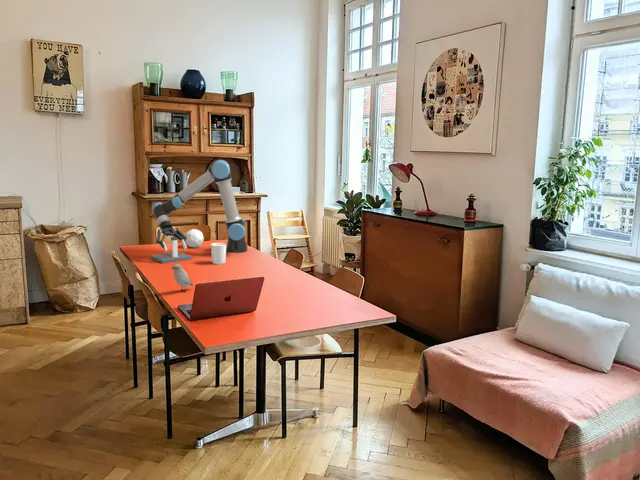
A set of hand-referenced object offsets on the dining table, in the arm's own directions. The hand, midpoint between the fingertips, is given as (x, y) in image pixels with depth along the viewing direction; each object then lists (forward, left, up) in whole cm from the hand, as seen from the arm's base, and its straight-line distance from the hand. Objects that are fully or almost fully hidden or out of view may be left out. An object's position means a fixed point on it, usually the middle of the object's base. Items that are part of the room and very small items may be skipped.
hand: (176, 250), depth 340 cm
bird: (+30, +64, -7) cm, 71 cm away
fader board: (0, -7, -7) cm, 10 cm away
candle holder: (-19, +20, -7) cm, 28 cm away
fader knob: (0, -2, -5) cm, 5 cm away
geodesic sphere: (-31, -32, -7) cm, 45 cm away
